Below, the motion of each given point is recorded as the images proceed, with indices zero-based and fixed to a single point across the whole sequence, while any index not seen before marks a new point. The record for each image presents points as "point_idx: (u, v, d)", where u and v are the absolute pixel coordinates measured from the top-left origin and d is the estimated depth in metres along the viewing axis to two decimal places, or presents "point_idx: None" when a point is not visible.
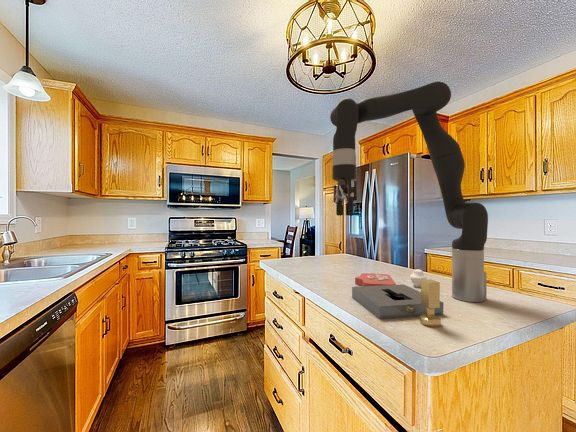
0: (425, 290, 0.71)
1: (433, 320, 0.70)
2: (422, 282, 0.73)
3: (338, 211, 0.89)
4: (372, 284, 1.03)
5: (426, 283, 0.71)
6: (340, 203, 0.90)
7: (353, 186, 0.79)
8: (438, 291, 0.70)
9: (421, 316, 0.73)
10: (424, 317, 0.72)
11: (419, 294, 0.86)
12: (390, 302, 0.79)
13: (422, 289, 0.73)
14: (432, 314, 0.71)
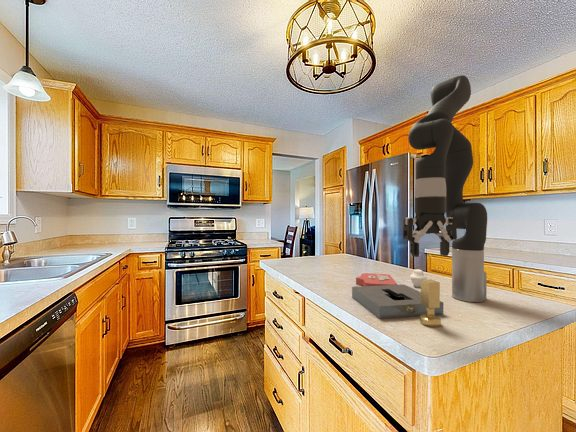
0: (425, 290, 0.71)
1: (433, 320, 0.70)
2: (422, 282, 0.73)
3: None
4: (373, 284, 1.02)
5: (426, 283, 0.71)
6: None
7: None
8: (438, 291, 0.70)
9: (421, 316, 0.73)
10: (424, 317, 0.72)
11: (419, 294, 0.86)
12: (390, 302, 0.79)
13: (422, 289, 0.73)
14: (432, 314, 0.71)
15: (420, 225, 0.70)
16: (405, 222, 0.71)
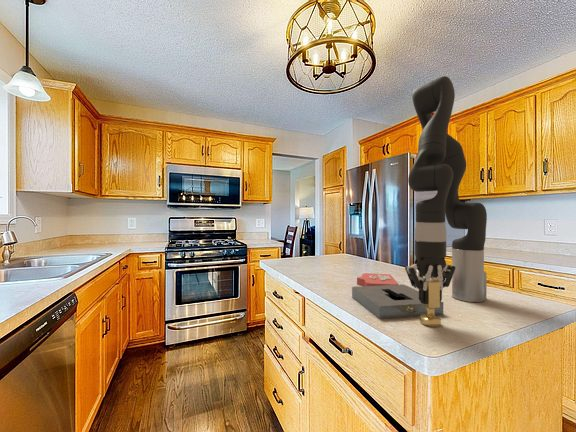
0: None
1: (433, 320, 0.70)
2: None
3: None
4: (374, 284, 1.02)
5: None
6: None
7: None
8: (438, 291, 0.70)
9: (421, 316, 0.73)
10: (424, 317, 0.72)
11: None
12: (390, 302, 0.79)
13: None
14: (432, 314, 0.71)
15: (422, 272, 0.71)
16: (408, 272, 0.71)
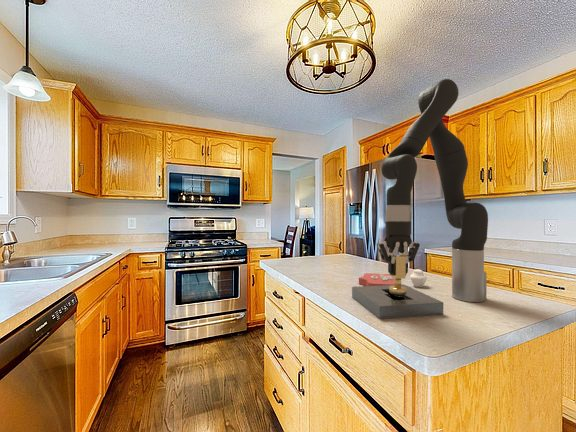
0: None
1: (399, 289, 0.82)
2: None
3: None
4: (377, 284, 1.02)
5: None
6: None
7: None
8: (404, 264, 0.82)
9: (390, 286, 0.85)
10: (393, 287, 0.84)
11: (419, 294, 0.86)
12: (390, 302, 0.79)
13: None
14: (399, 284, 0.83)
15: (391, 248, 0.82)
16: (378, 248, 0.83)
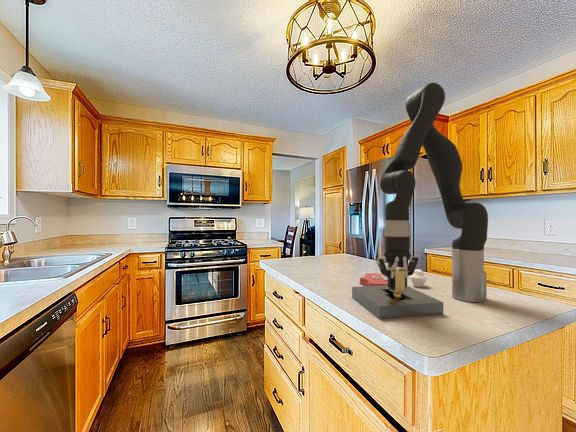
0: None
1: None
2: None
3: None
4: (378, 284, 1.02)
5: None
6: None
7: None
8: (403, 278, 0.83)
9: None
10: None
11: (419, 294, 0.86)
12: (390, 302, 0.79)
13: None
14: (398, 298, 0.83)
15: (390, 263, 0.83)
16: (378, 262, 0.84)
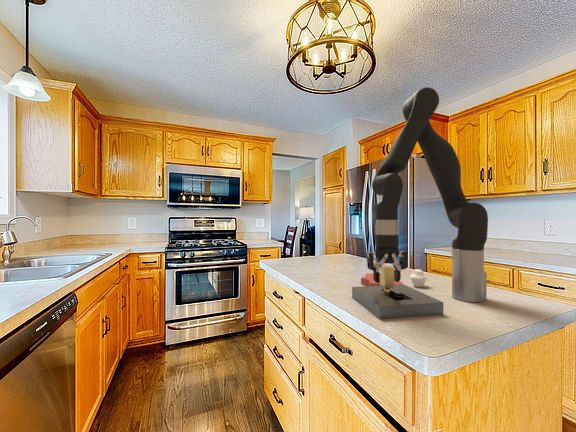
0: (383, 274, 0.90)
1: None
2: (381, 268, 0.91)
3: None
4: (379, 284, 1.02)
5: (383, 269, 0.89)
6: None
7: None
8: (393, 275, 0.89)
9: None
10: None
11: (419, 294, 0.86)
12: (390, 302, 0.79)
13: (381, 274, 0.91)
14: (388, 293, 0.89)
15: (379, 257, 0.89)
16: (367, 256, 0.90)
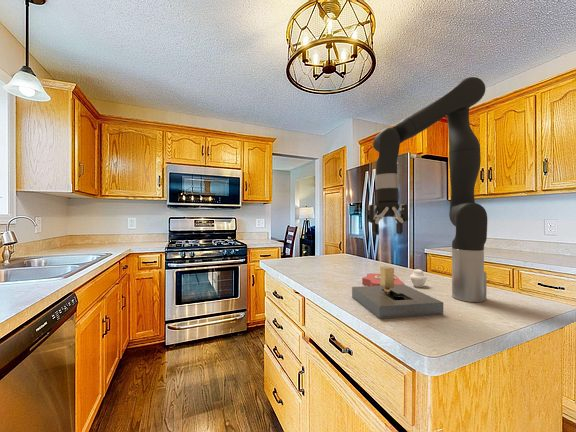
0: (383, 274, 0.90)
1: None
2: (381, 268, 0.91)
3: None
4: None
5: (383, 269, 0.89)
6: None
7: None
8: (393, 275, 0.89)
9: None
10: None
11: (419, 294, 0.86)
12: (390, 302, 0.79)
13: (381, 274, 0.91)
14: (388, 293, 0.89)
15: (379, 210, 0.91)
16: (368, 208, 0.92)
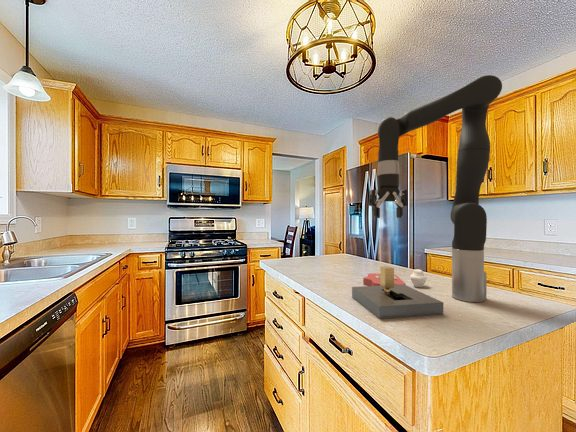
0: (383, 274, 0.90)
1: None
2: (381, 268, 0.91)
3: None
4: None
5: (383, 269, 0.89)
6: None
7: None
8: (393, 275, 0.89)
9: None
10: None
11: (419, 294, 0.86)
12: (390, 302, 0.79)
13: (381, 274, 0.91)
14: (388, 293, 0.89)
15: (380, 195, 0.97)
16: (370, 193, 0.98)
